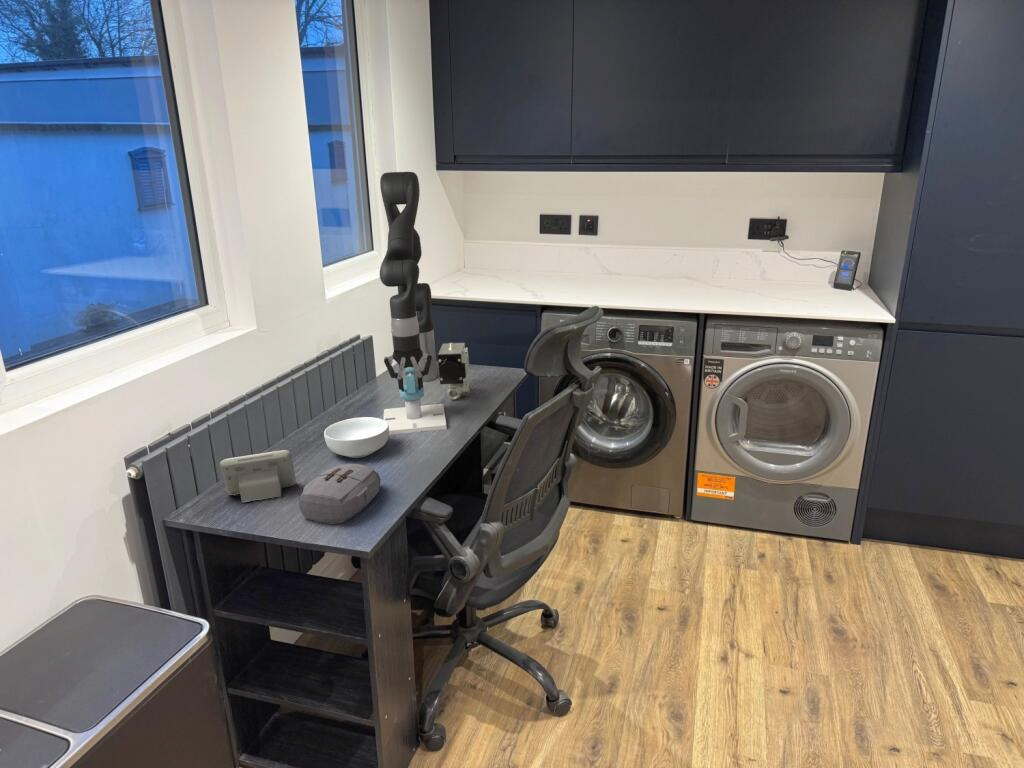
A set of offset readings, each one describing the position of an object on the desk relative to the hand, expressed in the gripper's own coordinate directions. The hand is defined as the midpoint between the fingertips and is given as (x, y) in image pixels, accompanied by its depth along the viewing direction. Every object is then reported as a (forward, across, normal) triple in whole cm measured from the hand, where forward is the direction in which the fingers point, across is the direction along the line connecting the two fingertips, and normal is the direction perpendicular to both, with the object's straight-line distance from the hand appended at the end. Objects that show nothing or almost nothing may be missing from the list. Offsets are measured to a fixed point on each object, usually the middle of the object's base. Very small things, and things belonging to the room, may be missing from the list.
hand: (411, 389), depth 204 cm
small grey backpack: (+11, +17, +44) cm, 48 cm away
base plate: (+11, 0, -4) cm, 12 cm away
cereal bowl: (+11, +15, +15) cm, 24 cm away
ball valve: (+11, -14, -22) cm, 28 cm away
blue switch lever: (+3, 0, -4) cm, 5 cm away
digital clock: (+11, +37, +34) cm, 51 cm away
